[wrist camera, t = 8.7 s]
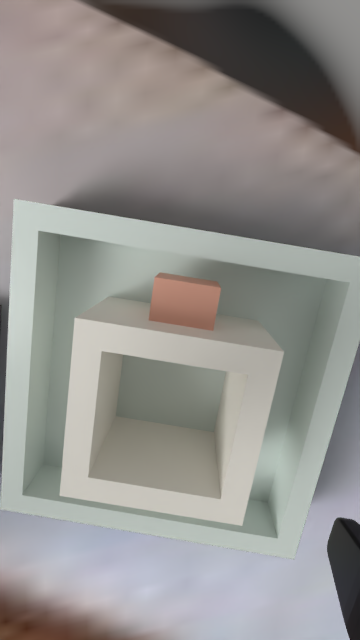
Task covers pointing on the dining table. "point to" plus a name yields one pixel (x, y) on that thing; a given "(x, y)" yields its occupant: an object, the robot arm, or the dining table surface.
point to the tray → (172, 378)
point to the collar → (161, 439)
